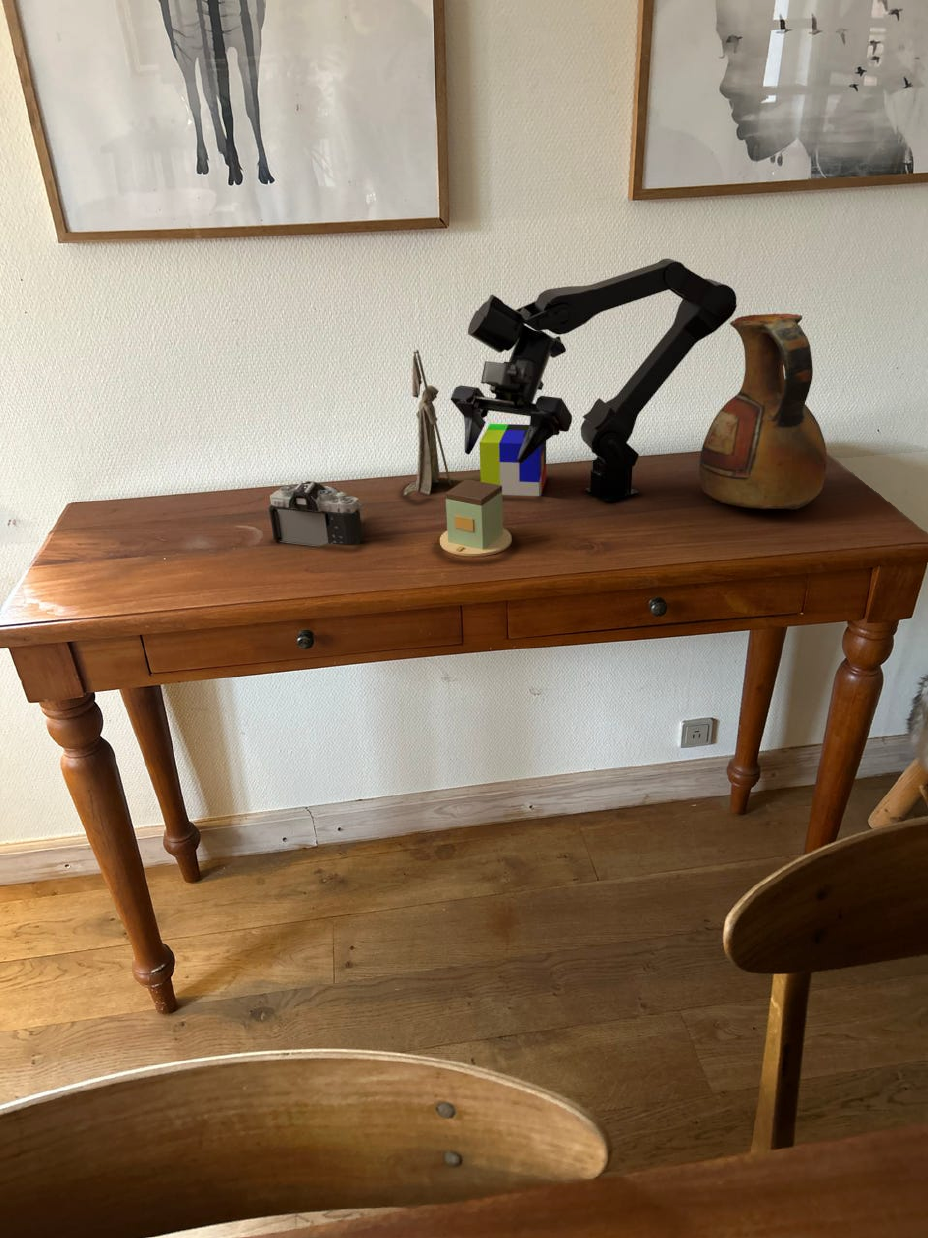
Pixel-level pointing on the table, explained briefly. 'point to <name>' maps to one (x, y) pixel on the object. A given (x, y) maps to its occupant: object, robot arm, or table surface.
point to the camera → (315, 515)
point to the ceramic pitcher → (767, 423)
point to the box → (475, 520)
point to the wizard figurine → (426, 433)
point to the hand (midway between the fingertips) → (492, 457)
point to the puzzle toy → (511, 461)
